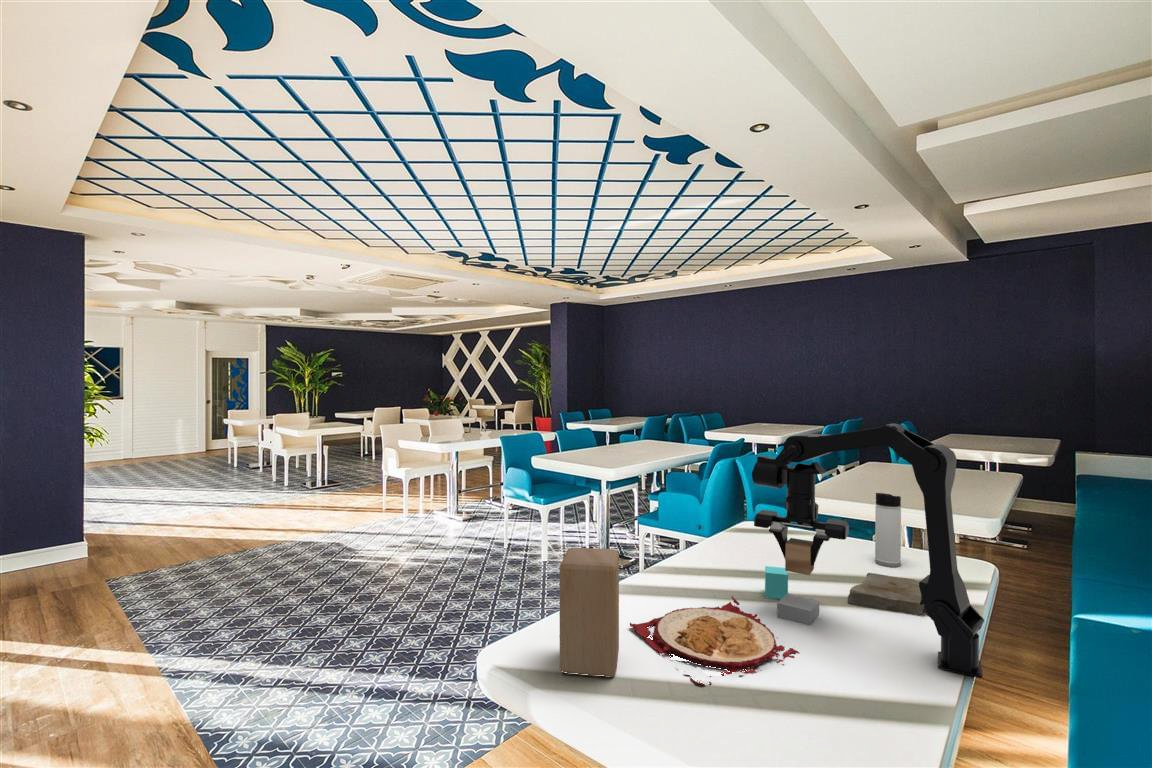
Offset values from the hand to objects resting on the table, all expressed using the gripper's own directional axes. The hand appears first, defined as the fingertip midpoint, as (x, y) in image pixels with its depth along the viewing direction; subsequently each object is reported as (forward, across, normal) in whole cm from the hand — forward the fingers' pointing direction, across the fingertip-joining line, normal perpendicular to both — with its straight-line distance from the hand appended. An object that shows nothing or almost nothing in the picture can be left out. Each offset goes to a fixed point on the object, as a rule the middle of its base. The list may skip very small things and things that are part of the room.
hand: (799, 562), depth 124 cm
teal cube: (+12, +7, -10) cm, 17 cm away
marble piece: (+12, -16, -21) cm, 29 cm away
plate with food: (+13, +11, +22) cm, 27 cm away
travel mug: (+12, -14, -50) cm, 53 cm away
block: (+12, +28, +42) cm, 52 cm away
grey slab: (+12, 0, 0) cm, 12 cm away
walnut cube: (+2, 0, 0) cm, 2 cm away
